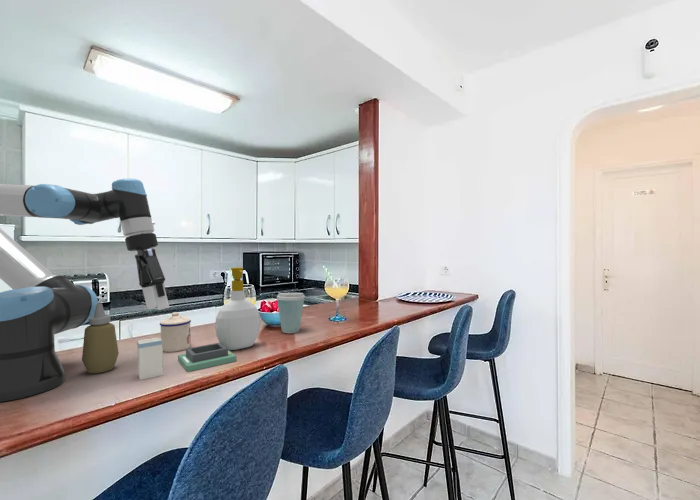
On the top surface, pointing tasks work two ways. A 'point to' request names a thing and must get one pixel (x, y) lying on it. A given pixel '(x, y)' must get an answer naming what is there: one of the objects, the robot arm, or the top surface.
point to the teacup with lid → (175, 333)
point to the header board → (206, 357)
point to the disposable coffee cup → (290, 311)
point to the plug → (150, 358)
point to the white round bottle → (237, 318)
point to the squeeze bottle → (99, 343)
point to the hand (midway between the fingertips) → (157, 308)
